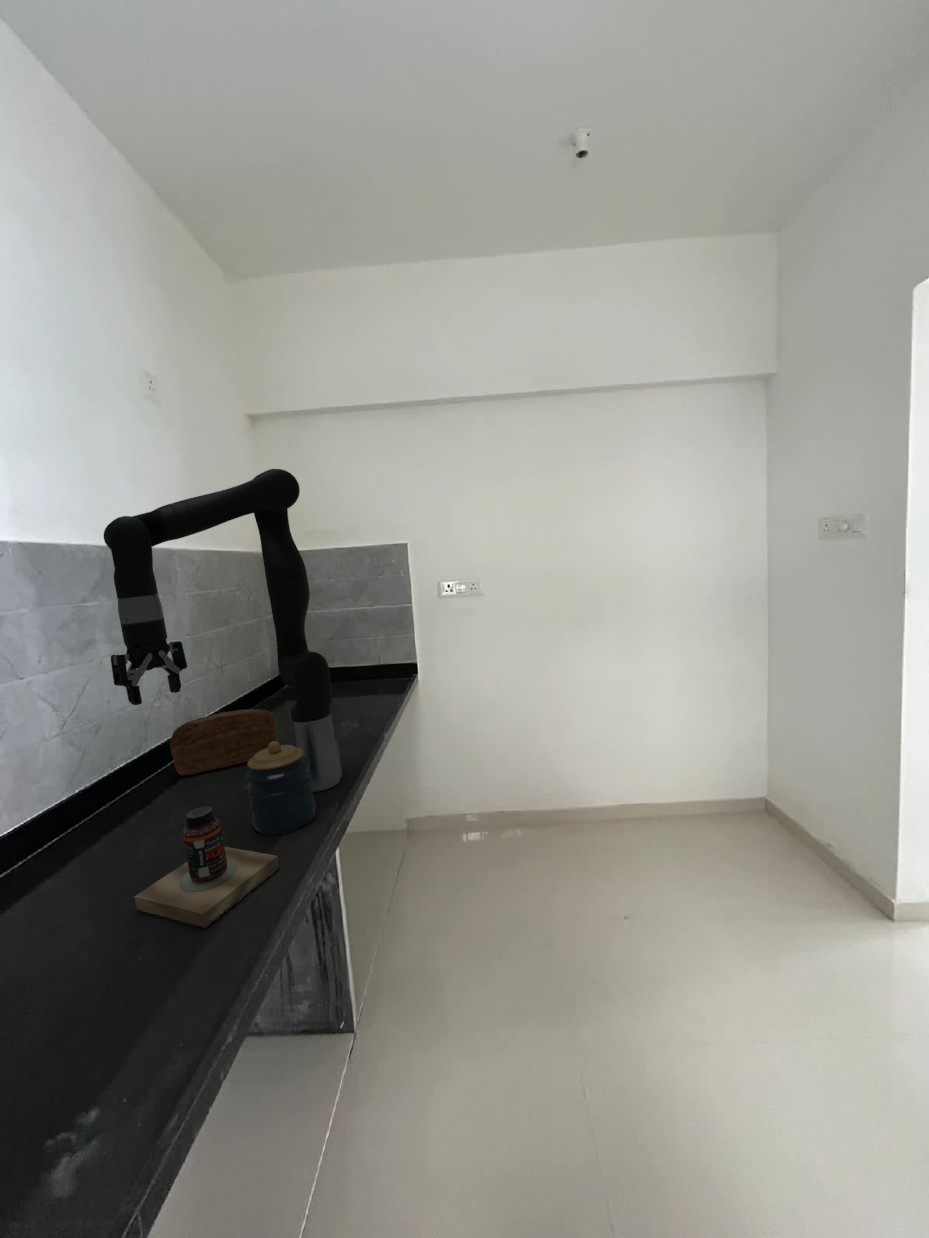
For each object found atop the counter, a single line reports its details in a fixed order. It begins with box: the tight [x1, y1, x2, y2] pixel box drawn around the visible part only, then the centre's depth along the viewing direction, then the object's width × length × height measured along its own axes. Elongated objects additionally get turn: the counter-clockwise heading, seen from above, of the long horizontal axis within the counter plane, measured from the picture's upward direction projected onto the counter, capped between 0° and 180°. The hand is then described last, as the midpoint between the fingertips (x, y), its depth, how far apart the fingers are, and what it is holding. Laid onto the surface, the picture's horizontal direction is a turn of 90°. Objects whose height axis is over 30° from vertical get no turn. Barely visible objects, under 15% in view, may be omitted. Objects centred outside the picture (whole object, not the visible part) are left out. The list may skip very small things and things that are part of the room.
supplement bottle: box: [182, 806, 227, 882], centre depth 93 cm, size 6×6×11 cm
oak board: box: [134, 845, 280, 927], centre depth 94 cm, size 16×16×3 cm
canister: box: [244, 741, 317, 836], centre depth 115 cm, size 13×13×18 cm
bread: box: [169, 708, 279, 776], centre depth 154 cm, size 12×28×14 cm, turn 111°
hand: (157, 698), depth 110 cm, fingers open, 8 cm apart
